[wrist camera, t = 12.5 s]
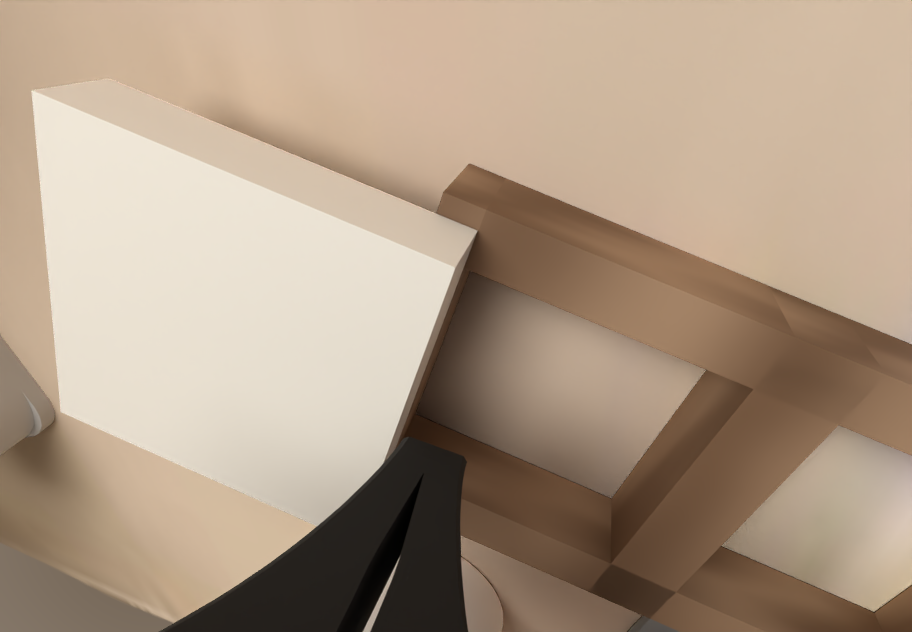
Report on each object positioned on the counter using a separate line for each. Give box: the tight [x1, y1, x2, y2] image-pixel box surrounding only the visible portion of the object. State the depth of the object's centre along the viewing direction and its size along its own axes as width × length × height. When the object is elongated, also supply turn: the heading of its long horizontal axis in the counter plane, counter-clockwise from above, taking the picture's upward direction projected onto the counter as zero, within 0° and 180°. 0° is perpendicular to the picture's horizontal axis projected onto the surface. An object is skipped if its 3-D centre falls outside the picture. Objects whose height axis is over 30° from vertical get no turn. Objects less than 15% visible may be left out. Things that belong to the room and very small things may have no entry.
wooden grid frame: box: [395, 164, 912, 632], centre depth 15 cm, size 18×10×2 cm, turn 72°
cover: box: [31, 78, 477, 526], centre depth 14 cm, size 9×9×2 cm
